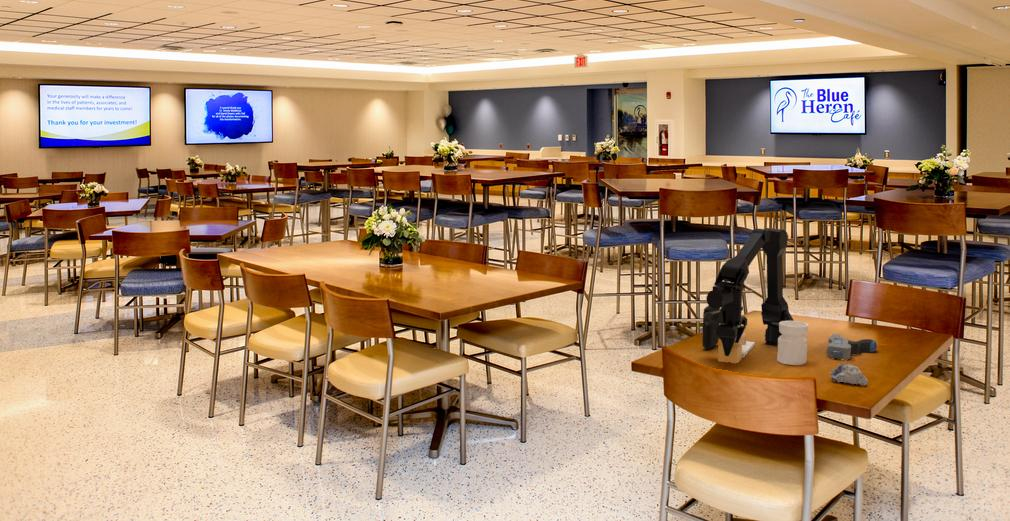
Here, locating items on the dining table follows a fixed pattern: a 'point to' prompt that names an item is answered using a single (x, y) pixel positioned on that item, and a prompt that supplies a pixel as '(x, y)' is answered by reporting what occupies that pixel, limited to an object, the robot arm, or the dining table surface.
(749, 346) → the plate
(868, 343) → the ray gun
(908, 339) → the dining table surface
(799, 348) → the white plastic jar
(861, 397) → the dining table surface
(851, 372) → the mineral specimen
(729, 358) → the tan block
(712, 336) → the carrying case or bag
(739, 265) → the robot arm
